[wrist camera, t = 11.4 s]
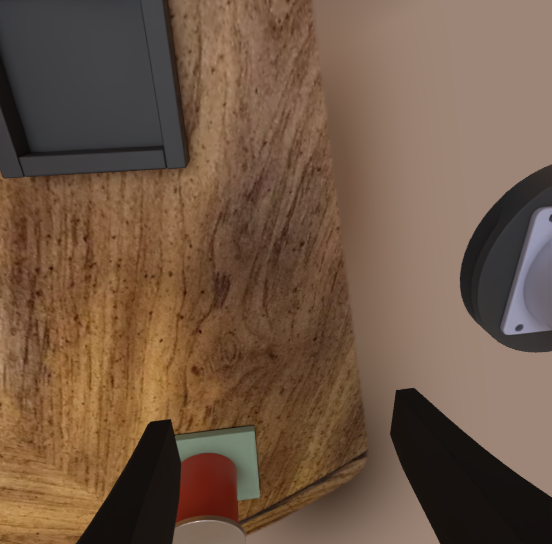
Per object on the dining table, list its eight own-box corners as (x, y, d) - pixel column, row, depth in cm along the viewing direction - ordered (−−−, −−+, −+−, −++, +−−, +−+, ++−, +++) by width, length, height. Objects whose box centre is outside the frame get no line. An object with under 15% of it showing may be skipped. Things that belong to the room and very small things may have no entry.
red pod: (239, 443, 25) (242, 514, 20) (245, 491, 27) (249, 563, 23) (162, 454, 24) (150, 528, 20) (175, 501, 26) (166, 577, 22)
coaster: (254, 424, 25) (254, 431, 24) (259, 491, 28) (260, 497, 27) (146, 438, 24) (144, 445, 24) (164, 504, 27) (163, 511, 27)
